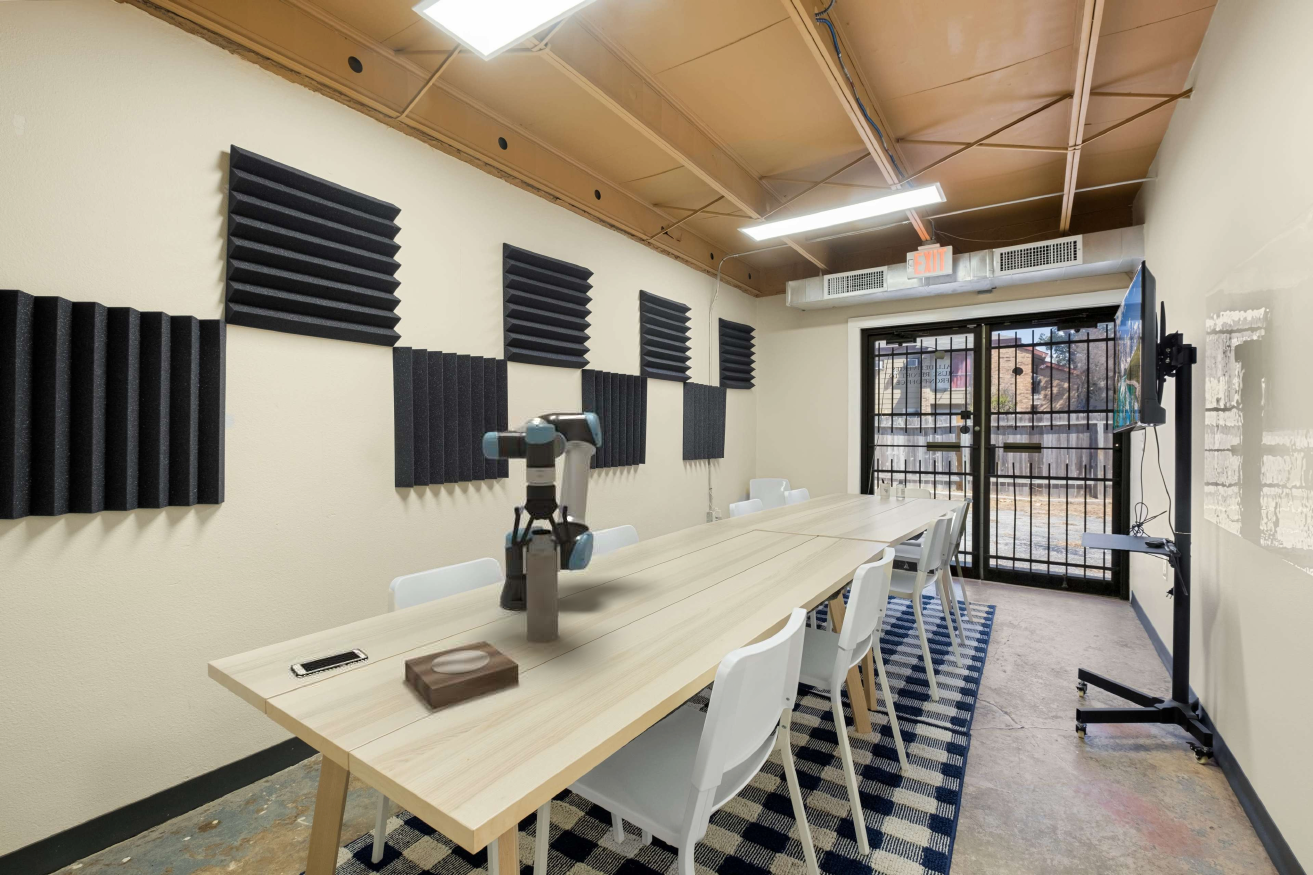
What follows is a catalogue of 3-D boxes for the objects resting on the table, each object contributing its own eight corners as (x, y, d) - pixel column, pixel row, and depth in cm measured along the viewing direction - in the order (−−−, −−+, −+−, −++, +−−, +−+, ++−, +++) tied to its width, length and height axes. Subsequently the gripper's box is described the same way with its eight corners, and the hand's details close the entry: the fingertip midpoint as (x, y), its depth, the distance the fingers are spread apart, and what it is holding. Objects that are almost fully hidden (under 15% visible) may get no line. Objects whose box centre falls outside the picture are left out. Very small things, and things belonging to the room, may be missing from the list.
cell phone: (289, 669, 132) (289, 665, 132) (358, 651, 143) (358, 647, 143) (298, 679, 127) (298, 675, 127) (369, 660, 137) (369, 656, 137)
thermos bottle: (532, 631, 155) (531, 527, 155) (561, 632, 154) (560, 527, 154) (522, 642, 147) (521, 532, 147) (553, 643, 146) (552, 532, 146)
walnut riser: (405, 678, 126) (404, 659, 126) (484, 657, 138) (484, 639, 138) (432, 709, 112) (432, 687, 112) (518, 682, 124) (518, 663, 124)
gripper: (498, 486, 145) (499, 576, 145) (581, 484, 148) (582, 572, 148) (501, 483, 152) (502, 569, 153) (581, 481, 155) (581, 566, 156)
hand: (542, 571), depth 151 cm, fingers closed on thermos bottle, 8 cm apart
